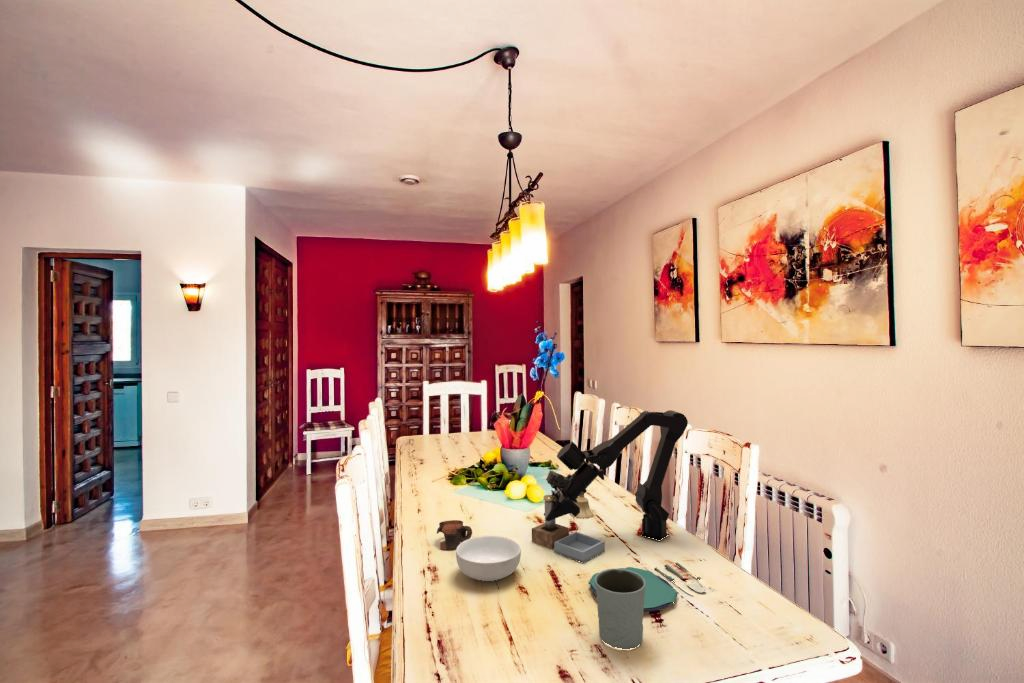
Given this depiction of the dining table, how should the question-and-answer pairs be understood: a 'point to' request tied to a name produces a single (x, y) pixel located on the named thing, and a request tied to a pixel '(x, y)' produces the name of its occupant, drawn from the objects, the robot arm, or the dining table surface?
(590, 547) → the slate tray
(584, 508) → the hand bell
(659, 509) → the robot arm
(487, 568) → the cereal bowl
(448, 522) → the brown clay jug
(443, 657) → the dining table surface
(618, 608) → the grey cylindrical pot
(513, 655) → the dining table surface
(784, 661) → the dining table surface
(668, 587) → the cutlery set
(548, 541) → the walnut block
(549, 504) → the pin
